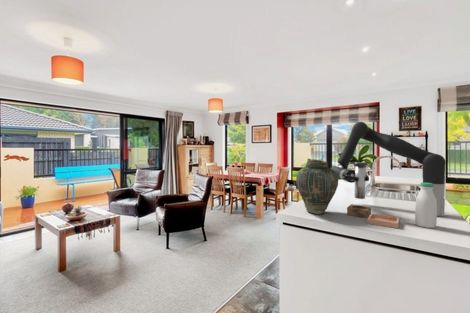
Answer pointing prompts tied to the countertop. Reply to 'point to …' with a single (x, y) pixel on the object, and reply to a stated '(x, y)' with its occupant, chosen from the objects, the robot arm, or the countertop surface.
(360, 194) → the clear bottle
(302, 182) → the vase
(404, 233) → the countertop surface
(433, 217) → the milk bottle
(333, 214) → the countertop surface
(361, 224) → the countertop surface
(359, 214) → the socket block
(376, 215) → the dish
